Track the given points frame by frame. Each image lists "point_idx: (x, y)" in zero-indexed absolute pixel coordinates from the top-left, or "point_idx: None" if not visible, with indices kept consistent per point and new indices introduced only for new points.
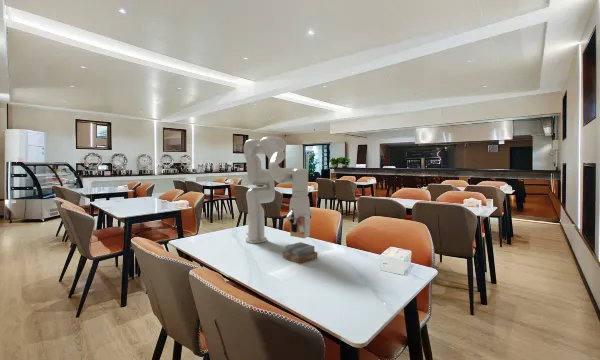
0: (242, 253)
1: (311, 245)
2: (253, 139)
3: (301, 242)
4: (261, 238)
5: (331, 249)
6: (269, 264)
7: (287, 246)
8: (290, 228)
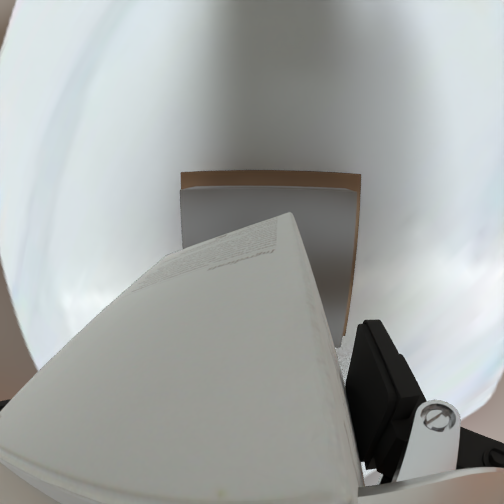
0: (99, 5)
1: (343, 321)
2: None
3: (353, 205)
4: None
5: (492, 261)
6: (92, 212)
7: (181, 213)
8: (123, 293)
